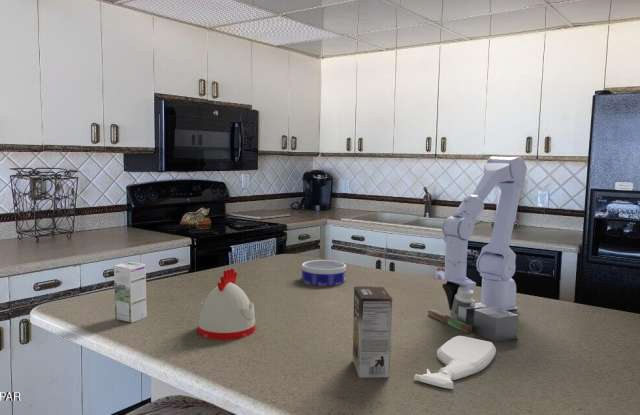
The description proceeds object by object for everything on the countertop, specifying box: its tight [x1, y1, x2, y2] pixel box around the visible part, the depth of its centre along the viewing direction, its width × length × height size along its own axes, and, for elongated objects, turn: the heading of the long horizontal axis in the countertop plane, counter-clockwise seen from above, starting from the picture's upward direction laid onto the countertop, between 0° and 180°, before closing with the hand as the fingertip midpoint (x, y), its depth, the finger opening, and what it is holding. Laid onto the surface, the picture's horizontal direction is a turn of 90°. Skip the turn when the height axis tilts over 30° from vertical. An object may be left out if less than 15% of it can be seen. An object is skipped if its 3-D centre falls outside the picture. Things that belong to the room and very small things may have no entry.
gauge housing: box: [472, 307, 519, 343], centre depth 128 cm, size 7×8×6 cm
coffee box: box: [352, 285, 393, 379], centre depth 106 cm, size 9×6×16 cm
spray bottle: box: [413, 335, 497, 390], centre depth 108 cm, size 3×11×24 cm
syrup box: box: [113, 261, 148, 324], centre depth 134 cm, size 6×6×14 cm
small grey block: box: [458, 299, 488, 328], centre depth 133 cm, size 7×7×7 cm
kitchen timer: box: [197, 268, 256, 341], centre depth 128 cm, size 14×14×15 cm
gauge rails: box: [427, 308, 473, 334], centre depth 139 cm, size 11×16×2 cm
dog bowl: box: [301, 259, 347, 287], centre depth 181 cm, size 15×15×6 cm
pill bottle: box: [449, 287, 474, 320], centre depth 139 cm, size 5×5×8 cm
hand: (453, 309), depth 142 cm, fingers closed, pressing on pill bottle
